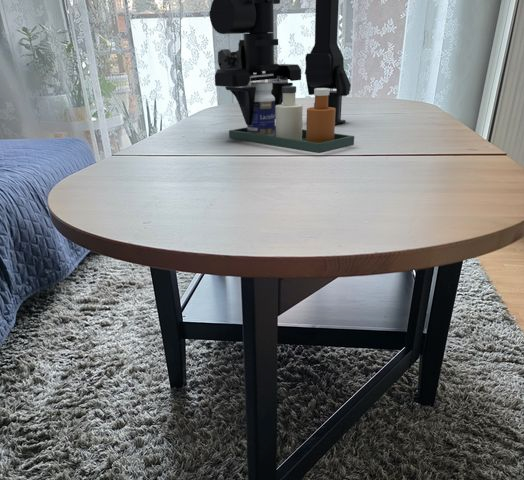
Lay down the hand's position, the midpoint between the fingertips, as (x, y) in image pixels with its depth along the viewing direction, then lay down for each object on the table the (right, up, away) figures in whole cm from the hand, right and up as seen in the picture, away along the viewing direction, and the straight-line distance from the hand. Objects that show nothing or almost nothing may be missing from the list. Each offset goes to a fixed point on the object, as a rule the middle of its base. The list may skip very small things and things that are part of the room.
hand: (260, 123), depth 104 cm
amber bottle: (+11, -8, -8) cm, 16 cm away
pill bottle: (0, -2, +2) cm, 3 cm away
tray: (+6, -6, -3) cm, 9 cm away
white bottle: (+6, -5, -4) cm, 8 cm away
